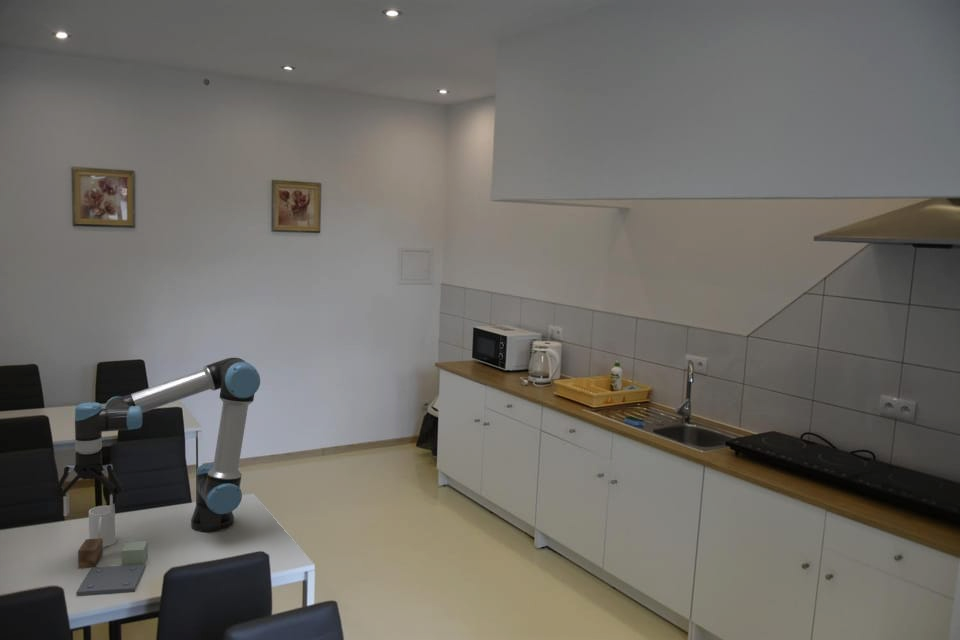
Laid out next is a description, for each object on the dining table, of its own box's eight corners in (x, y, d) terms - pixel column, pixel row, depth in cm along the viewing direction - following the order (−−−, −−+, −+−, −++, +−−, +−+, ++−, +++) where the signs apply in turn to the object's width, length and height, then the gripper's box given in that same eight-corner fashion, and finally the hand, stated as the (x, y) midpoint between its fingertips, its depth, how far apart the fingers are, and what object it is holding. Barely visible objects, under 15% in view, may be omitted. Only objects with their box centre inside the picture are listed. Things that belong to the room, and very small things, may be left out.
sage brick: (147, 558, 239) (147, 541, 238) (143, 567, 233) (143, 549, 232) (126, 559, 238) (126, 542, 237) (121, 568, 231) (121, 550, 231)
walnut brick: (102, 555, 240) (102, 538, 239) (95, 567, 231) (95, 550, 230) (86, 556, 238) (86, 539, 238) (78, 568, 230) (77, 551, 229)
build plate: (145, 567, 232) (145, 563, 232) (134, 591, 217) (134, 587, 217) (91, 570, 228) (91, 566, 228) (76, 595, 213) (76, 591, 213)
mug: (111, 551, 243) (111, 517, 241) (83, 553, 240) (82, 519, 239) (118, 536, 254) (117, 504, 253) (91, 538, 251) (90, 505, 250)
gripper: (133, 446, 237) (133, 507, 239) (49, 448, 231) (50, 510, 233) (127, 453, 230) (128, 516, 232) (41, 455, 224) (42, 520, 226)
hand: (89, 513), depth 233 cm, fingers open, 13 cm apart
